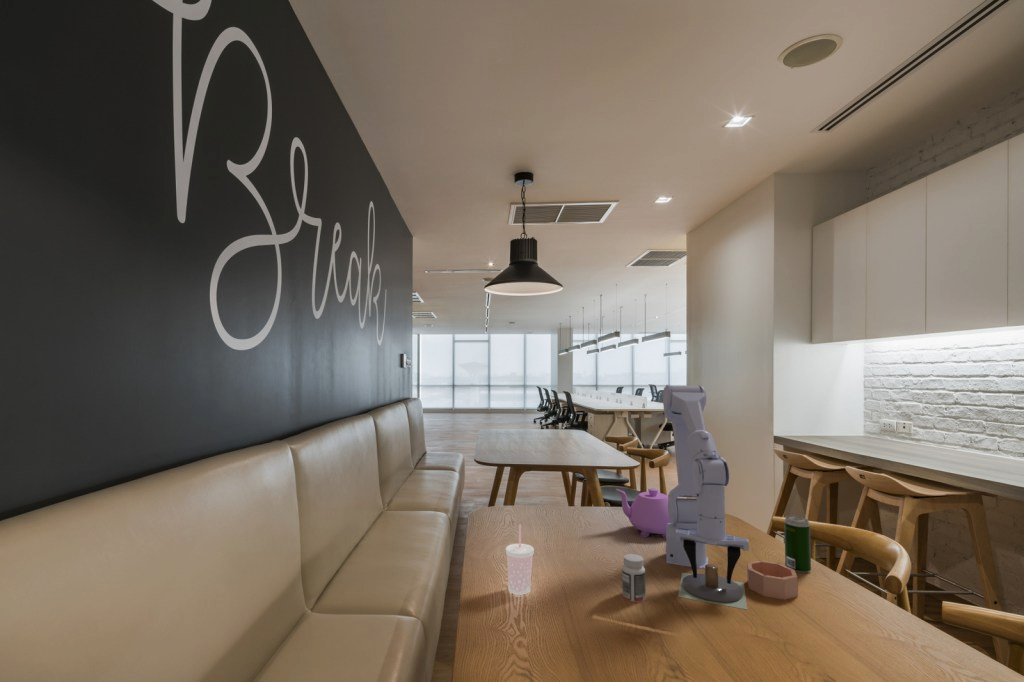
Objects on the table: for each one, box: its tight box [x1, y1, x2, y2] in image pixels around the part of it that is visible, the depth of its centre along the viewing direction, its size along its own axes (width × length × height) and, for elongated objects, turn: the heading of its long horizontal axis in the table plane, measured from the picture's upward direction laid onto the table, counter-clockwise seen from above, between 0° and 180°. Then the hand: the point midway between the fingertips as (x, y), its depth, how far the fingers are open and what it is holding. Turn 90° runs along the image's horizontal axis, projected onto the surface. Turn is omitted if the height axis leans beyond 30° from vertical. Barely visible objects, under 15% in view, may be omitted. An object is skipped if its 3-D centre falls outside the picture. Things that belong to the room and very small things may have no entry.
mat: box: [677, 572, 748, 610], centre depth 103 cm, size 13×13×1 cm
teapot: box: [615, 487, 672, 538], centre depth 141 cm, size 20×14×12 cm
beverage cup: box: [505, 524, 535, 595], centre depth 103 cm, size 6×6×14 cm
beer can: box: [783, 515, 812, 574], centre depth 115 cm, size 5×5×12 cm
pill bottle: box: [621, 553, 647, 603], centre depth 100 cm, size 5×5×8 cm
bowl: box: [746, 560, 799, 600], centre depth 104 cm, size 9×9×4 cm
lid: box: [682, 563, 743, 603], centre depth 103 cm, size 12×12×5 cm
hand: (711, 578), depth 103 cm, fingers open, 6 cm apart
